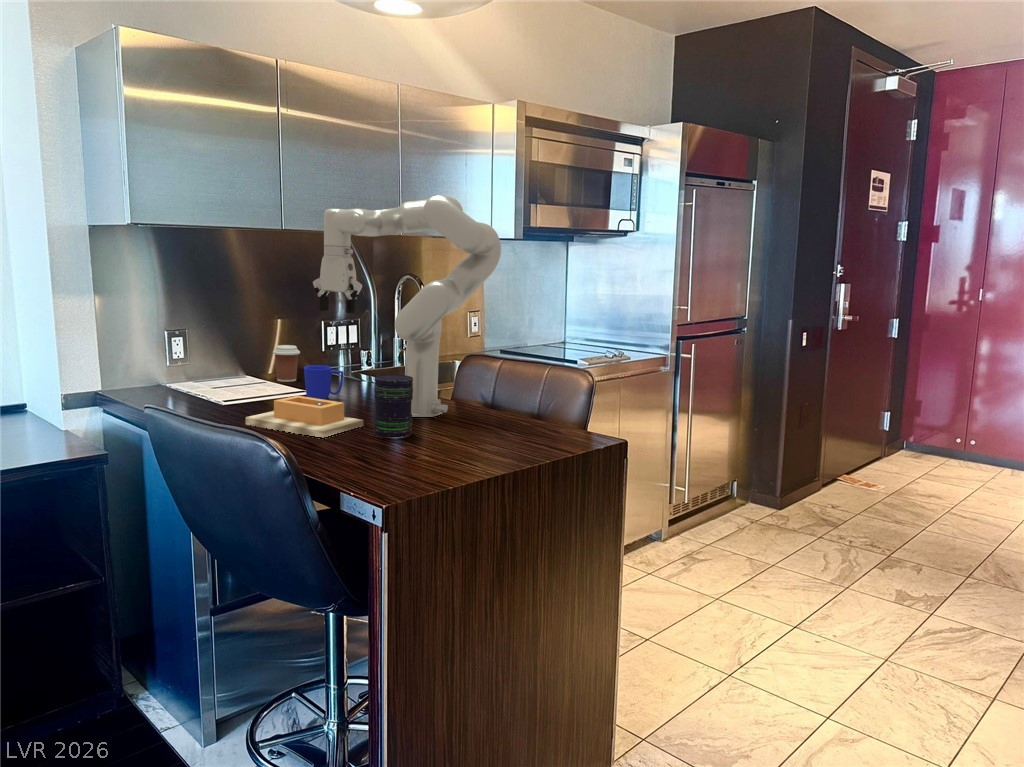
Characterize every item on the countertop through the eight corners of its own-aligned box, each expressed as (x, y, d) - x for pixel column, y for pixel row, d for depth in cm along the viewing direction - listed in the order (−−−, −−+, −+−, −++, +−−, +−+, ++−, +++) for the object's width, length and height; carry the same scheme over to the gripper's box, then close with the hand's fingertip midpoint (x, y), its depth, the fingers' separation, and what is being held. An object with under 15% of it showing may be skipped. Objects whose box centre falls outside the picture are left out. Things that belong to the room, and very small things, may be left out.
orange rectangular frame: (344, 419, 201) (344, 402, 200) (321, 425, 193) (321, 408, 192) (297, 411, 208) (297, 395, 207) (273, 417, 200) (273, 400, 199)
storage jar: (370, 431, 198) (371, 374, 195) (407, 429, 201) (408, 374, 199) (377, 440, 189) (378, 381, 186) (416, 438, 192) (417, 380, 190)
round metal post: (325, 419, 199) (325, 403, 199) (319, 421, 197) (319, 404, 197) (318, 418, 201) (318, 401, 200) (312, 420, 198) (312, 403, 198)
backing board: (363, 427, 202) (363, 420, 201) (323, 439, 187) (323, 431, 187) (288, 414, 213) (288, 407, 213) (245, 424, 199) (245, 417, 198)
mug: (339, 402, 232) (340, 370, 230) (300, 400, 232) (300, 368, 231) (346, 397, 240) (346, 366, 239) (308, 395, 240) (308, 364, 239)
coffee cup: (293, 377, 272) (293, 344, 270) (304, 381, 266) (304, 347, 264) (268, 379, 267) (268, 345, 265) (279, 383, 260) (279, 348, 258)
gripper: (369, 254, 218) (368, 313, 221) (322, 251, 226) (322, 309, 229) (353, 253, 212) (352, 314, 215) (305, 251, 219) (305, 310, 222)
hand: (337, 311), depth 222 cm, fingers open, 9 cm apart
